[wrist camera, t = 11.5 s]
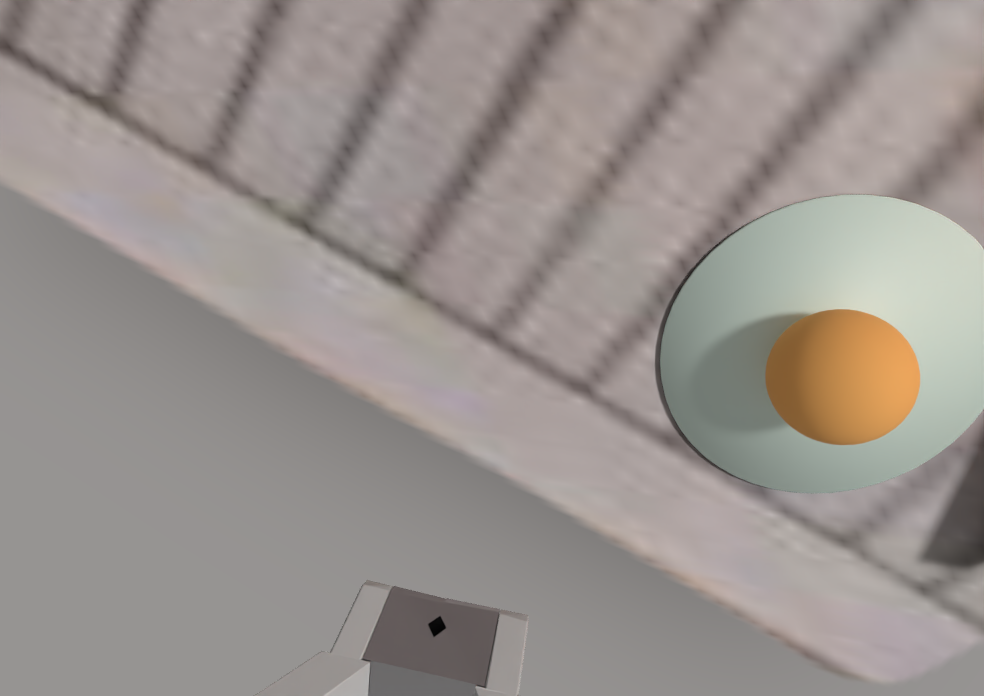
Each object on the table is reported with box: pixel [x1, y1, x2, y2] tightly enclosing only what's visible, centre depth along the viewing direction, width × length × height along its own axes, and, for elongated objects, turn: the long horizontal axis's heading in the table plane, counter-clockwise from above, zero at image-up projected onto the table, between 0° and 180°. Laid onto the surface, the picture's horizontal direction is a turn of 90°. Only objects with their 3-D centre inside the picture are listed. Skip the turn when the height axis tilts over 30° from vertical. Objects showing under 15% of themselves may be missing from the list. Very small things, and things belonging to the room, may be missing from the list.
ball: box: [765, 309, 920, 445], centre depth 23 cm, size 5×5×5 cm
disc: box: [660, 194, 984, 493], centre depth 26 cm, size 13×13×1 cm
